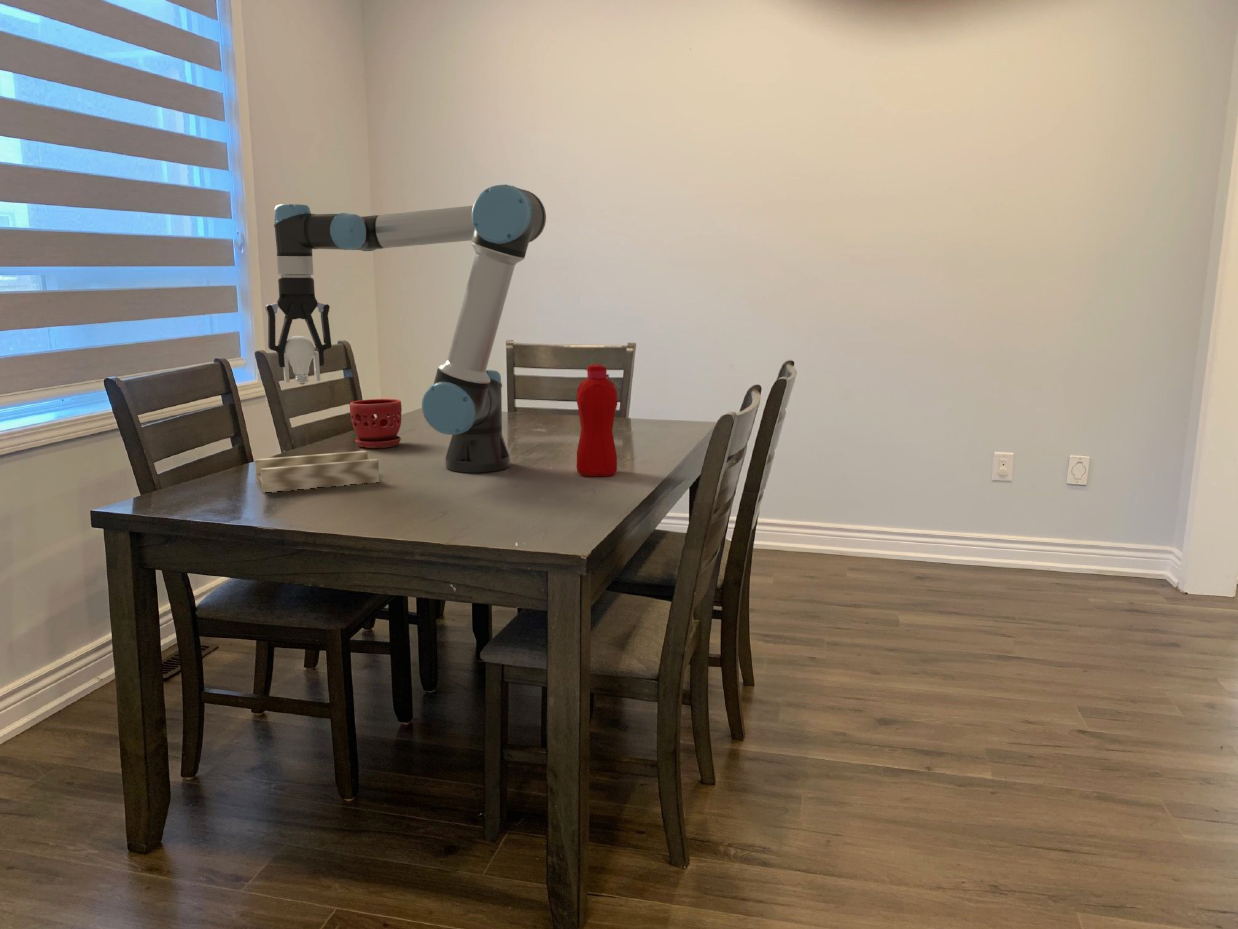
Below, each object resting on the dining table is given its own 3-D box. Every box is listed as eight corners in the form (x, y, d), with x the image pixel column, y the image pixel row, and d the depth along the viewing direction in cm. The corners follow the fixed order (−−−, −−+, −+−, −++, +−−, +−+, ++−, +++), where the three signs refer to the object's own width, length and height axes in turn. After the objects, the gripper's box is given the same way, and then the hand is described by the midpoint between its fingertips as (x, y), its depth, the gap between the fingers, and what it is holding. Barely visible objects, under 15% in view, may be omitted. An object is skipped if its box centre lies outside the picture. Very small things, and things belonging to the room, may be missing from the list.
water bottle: (625, 477, 215) (626, 366, 210) (577, 477, 214) (577, 366, 209) (622, 469, 224) (623, 362, 219) (576, 469, 223) (575, 362, 218)
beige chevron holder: (366, 471, 218) (365, 450, 217) (379, 482, 208) (378, 460, 207) (256, 481, 207) (254, 459, 206) (263, 493, 197) (261, 469, 196)
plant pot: (410, 442, 256) (408, 398, 253) (390, 451, 243) (388, 404, 241) (365, 440, 258) (362, 396, 255) (343, 449, 245) (340, 403, 243)
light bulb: (281, 385, 215) (276, 336, 212) (308, 381, 219) (303, 333, 217) (296, 387, 210) (291, 337, 208) (323, 383, 215) (318, 334, 212)
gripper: (336, 276, 217) (341, 377, 222) (248, 276, 209) (255, 381, 214) (343, 276, 211) (348, 380, 216) (252, 276, 202) (260, 384, 207)
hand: (302, 380), depth 215 cm, fingers closed on light bulb, 6 cm apart
